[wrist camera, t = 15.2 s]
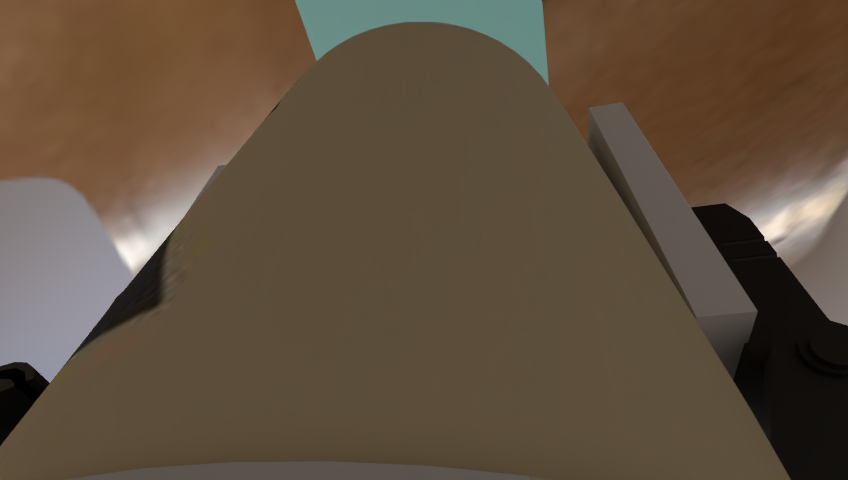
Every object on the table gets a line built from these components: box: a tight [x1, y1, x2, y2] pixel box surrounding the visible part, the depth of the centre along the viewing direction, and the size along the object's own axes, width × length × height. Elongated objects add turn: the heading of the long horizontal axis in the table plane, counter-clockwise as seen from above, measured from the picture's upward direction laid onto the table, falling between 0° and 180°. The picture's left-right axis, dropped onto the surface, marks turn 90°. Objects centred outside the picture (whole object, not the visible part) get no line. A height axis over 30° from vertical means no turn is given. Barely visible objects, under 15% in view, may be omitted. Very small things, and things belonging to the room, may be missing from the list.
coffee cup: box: [0, 22, 791, 480], centre depth 9 cm, size 9×9×12 cm
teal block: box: [295, 0, 549, 86], centre depth 23 cm, size 9×9×7 cm
